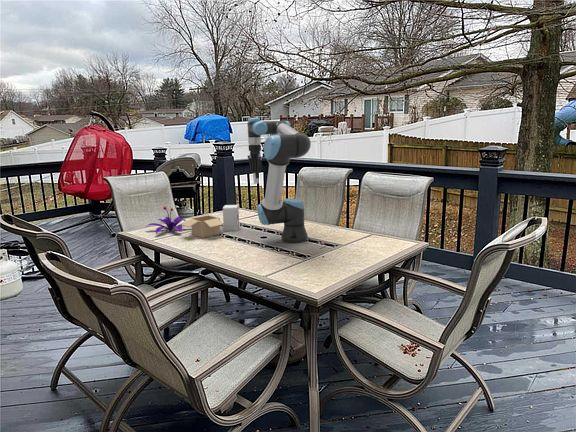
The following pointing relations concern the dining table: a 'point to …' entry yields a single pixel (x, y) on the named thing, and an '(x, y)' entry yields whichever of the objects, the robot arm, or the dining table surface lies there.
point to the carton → (205, 227)
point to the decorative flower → (169, 223)
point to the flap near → (213, 222)
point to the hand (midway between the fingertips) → (256, 183)
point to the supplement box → (231, 217)
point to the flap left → (190, 222)
